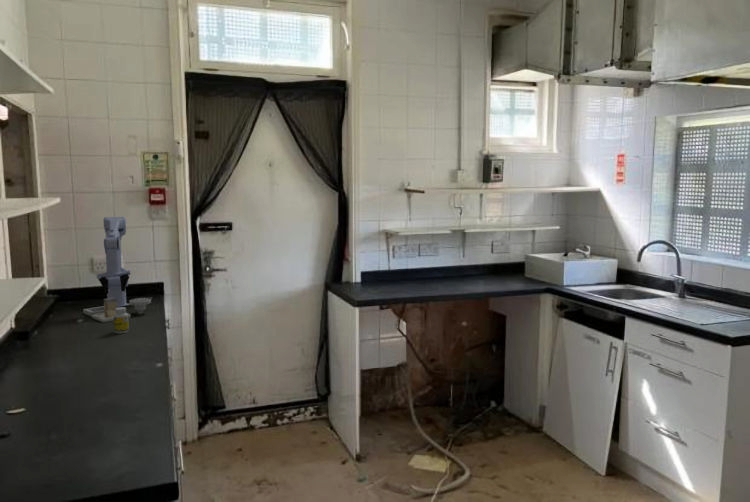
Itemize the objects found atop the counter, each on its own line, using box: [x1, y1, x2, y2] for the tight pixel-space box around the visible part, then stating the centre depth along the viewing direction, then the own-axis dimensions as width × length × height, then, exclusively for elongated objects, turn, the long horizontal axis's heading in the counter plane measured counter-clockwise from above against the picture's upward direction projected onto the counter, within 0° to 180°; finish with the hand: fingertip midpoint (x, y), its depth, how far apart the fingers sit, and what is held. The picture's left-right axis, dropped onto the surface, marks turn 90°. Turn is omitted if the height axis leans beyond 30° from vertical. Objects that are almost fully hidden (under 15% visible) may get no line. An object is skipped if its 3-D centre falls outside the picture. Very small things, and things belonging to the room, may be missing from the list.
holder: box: [82, 305, 104, 318], centre depth 262 cm, size 10×10×2 cm
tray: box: [91, 313, 131, 324], centre depth 253 cm, size 12×12×2 cm
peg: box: [103, 298, 118, 318], centre depth 253 cm, size 4×4×8 cm
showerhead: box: [128, 297, 153, 315], centre depth 261 cm, size 9×7×10 cm
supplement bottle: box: [113, 306, 130, 334], centre depth 230 cm, size 5×5×10 cm
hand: (114, 292), depth 261 cm, fingers open, 7 cm apart
